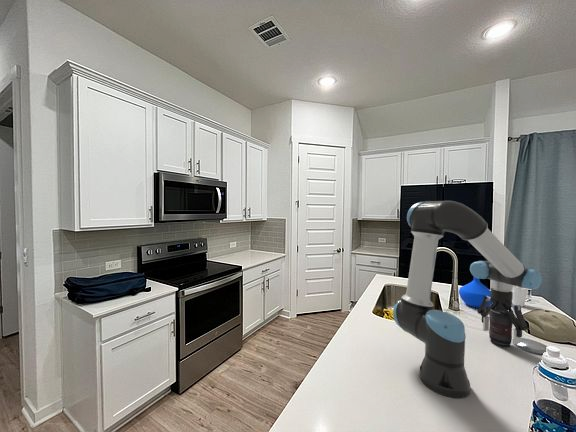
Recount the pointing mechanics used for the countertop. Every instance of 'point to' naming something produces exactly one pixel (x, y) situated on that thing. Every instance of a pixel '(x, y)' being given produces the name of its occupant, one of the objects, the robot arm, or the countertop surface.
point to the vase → (474, 293)
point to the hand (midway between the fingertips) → (500, 336)
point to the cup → (519, 295)
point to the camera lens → (500, 328)
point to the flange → (531, 346)
